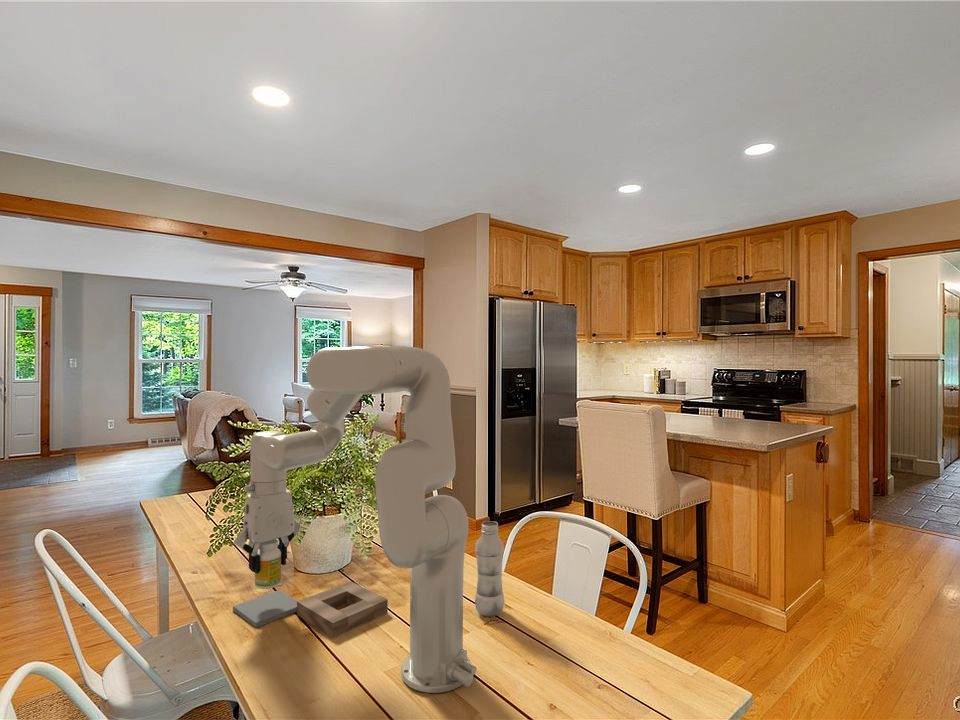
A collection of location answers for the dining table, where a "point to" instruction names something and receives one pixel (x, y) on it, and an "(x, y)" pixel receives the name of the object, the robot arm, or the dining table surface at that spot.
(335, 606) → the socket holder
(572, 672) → the dining table surface
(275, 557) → the supplement bottle
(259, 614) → the grey pad
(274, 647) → the dining table surface
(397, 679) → the dining table surface
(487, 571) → the plastic bottle
